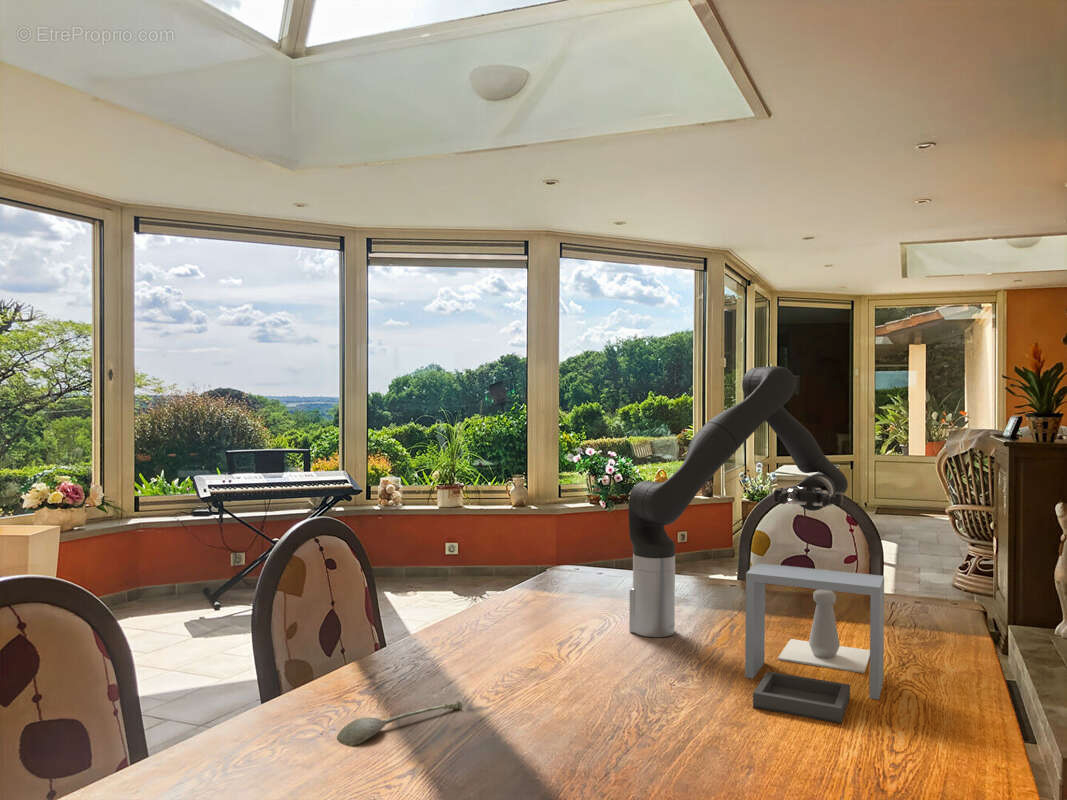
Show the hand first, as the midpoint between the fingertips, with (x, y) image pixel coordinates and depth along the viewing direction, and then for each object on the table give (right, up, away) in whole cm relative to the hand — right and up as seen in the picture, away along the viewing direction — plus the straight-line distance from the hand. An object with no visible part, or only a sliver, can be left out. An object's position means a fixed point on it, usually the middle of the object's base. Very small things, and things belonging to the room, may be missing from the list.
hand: (803, 500), depth 173 cm
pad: (+1, -30, -11) cm, 32 cm away
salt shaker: (0, -30, -11) cm, 32 cm away
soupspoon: (-79, -31, -45) cm, 96 cm away
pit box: (-12, -30, -35) cm, 48 cm away
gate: (-6, -30, -24) cm, 39 cm away
